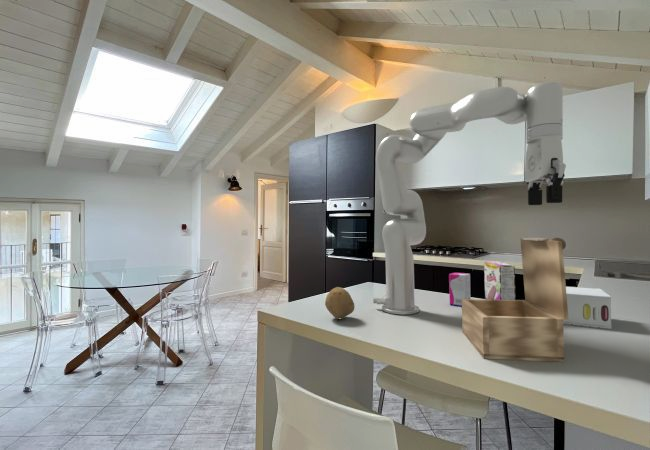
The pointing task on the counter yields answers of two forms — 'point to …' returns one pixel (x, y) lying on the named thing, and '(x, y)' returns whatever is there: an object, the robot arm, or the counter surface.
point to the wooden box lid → (545, 274)
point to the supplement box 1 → (459, 288)
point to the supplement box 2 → (588, 307)
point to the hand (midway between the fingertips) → (544, 203)
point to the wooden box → (513, 330)
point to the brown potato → (339, 303)
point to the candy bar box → (499, 281)
